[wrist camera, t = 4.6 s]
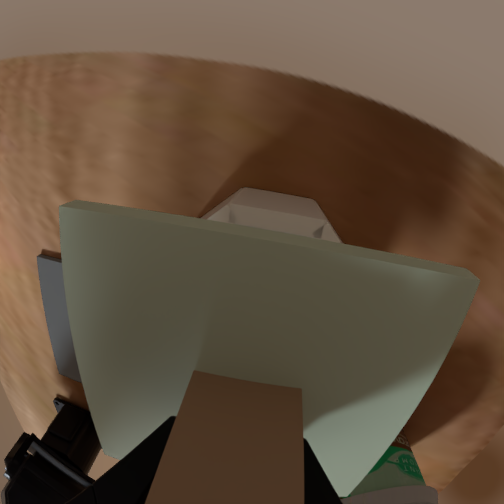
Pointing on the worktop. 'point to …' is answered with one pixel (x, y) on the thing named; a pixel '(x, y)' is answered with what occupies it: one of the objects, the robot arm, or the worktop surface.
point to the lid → (249, 348)
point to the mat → (57, 315)
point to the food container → (393, 479)
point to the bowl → (274, 213)
